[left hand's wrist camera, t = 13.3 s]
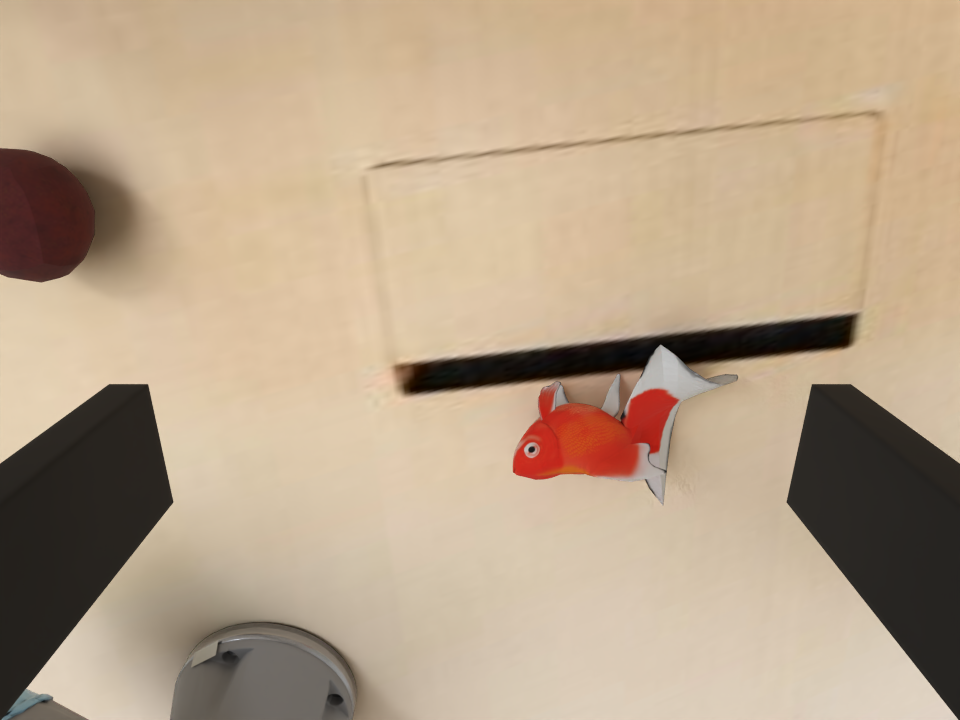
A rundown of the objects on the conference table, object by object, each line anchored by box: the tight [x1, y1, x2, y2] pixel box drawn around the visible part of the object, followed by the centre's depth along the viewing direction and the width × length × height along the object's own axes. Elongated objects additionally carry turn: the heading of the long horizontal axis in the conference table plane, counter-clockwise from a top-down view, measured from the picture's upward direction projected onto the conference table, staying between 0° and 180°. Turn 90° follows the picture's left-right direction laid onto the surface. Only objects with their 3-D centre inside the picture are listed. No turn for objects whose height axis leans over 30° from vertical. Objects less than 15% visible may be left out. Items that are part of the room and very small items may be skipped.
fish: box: [513, 345, 738, 505], centre depth 41 cm, size 11×16×10 cm
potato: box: [0, 148, 95, 282], centre depth 36 cm, size 7×8×7 cm
